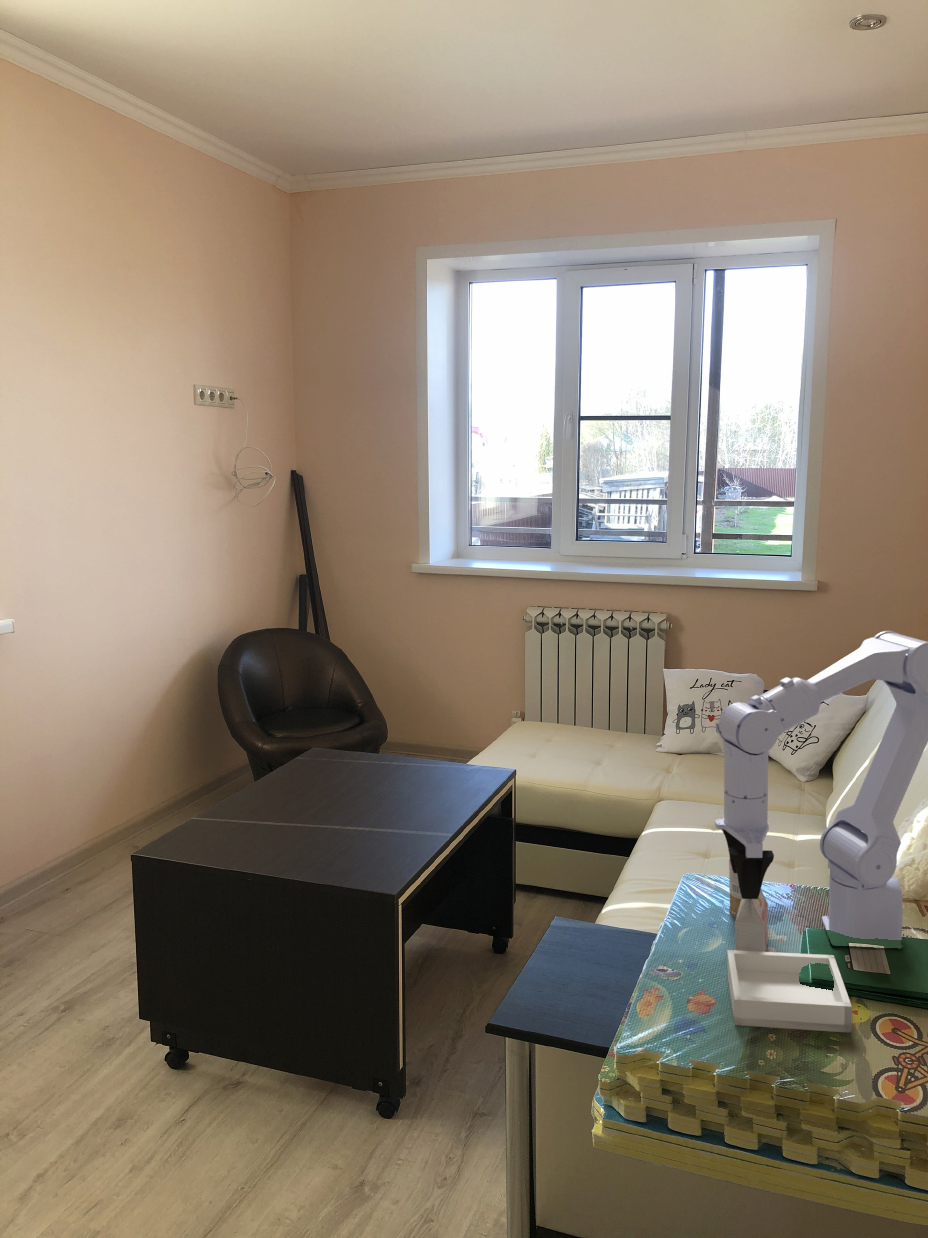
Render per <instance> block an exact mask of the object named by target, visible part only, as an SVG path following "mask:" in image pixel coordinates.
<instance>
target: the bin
mask: <svg viewBox="0 0 928 1238" xmlns="http://www.w3.org/2000/svg"><path fill="white" fill-rule="evenodd" d="M726 956H727V957H726V959H727V961H726V965H727V966H726V969H727V970H726V971H727V973H726V974H727V980H728V987H729V988H728V989H729V994H730V1001H731V1008H732V1015H733V1021H734V1022H733V1023H734V1026H740V1027H743V1026H744V1027H759V1028H771V1029H772V1028H774V1029H791V1030H803V1031H804V1030H805V1031H818V1032H819V1031H821V1032H835V1033H847V1034H848V1033H849V1034H852V1021H853V1020H852V1018H853V1017H852V1015H853V1013H852V1012H853V1006H852V1003H851V1000H850V997H849V995H848V992H847V989H846V986H845V983H844V981H843V977H842V975H841V972H840V969H839V967H838V964H837V961H836V958H835V955H832V954H819V953H818V954H817V953H816V954H814V953H813V954H812V953H797V952H796V953H794V952H792V953H791V952H776V951H774V952H773V951H766V952H758V951H738V950H735V949H727V951H726ZM810 963H811V964H815V963H821V964H822V963H823V964H828V965H829V968H830V971H831V974H832V976H833V980H834V988H833V991H832V990H828V989H827V990H826V989H821V988H815V987H809V986H806V985H802V984H800V982H799V973H800V972H801V969H802V967H804V966H807V965H808V964H810Z"/></svg>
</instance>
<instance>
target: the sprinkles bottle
mask: <svg viewBox="0 0 928 1238" xmlns="http://www.w3.org/2000/svg"><path fill="white" fill-rule="evenodd" d="M728 865H729V867H728V870H729V872H728V874H729V877H728V880H729V882H728V883H729V909H728V910H729V913H730V914H731V916H733V917H735V918H736V917H737V913H738V909H739V906H740V902H741V899H742V896H741V893H740V889H739V883H738V876H737V873H734V872H733V869H732V866H731V861H730V858H729V860H728Z"/></svg>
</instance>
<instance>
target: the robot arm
mask: <svg viewBox="0 0 928 1238" xmlns="http://www.w3.org/2000/svg"><path fill="white" fill-rule="evenodd" d="M871 680H877V681H883V683H884V684H885V685H886V686H887V687H888V689H889V691H890V693H891V695H892V697H893V699H894V701H895V704H896V706H895V707H894V710H893V712H892V715H891V717H890V719H889V722H888V723H887V726H886V728H885V731H884V733H883V735H882V738H881V740H880V743H879V745H878V747H877V749H876V750H875V751H876V752H875V754H874V756H873V758H872V761H871V763H870V766H869V768H868V771H867V773H866V775H865V777H864V780H863V782H862V784H861V786H860V789H859V791H858V794H857V796H856V798H855V800H854V803H853V804H852V805H850V806H847V807H845V808H842V809H840V810H838V811H837V813H836V815H835V818H834V819H833V821H832V822H831V823H830V824H829V825H828V826H827V827H826V828H825V829H824V830H823V832H822V834H821V836H820V839H819V850H820V852H821V854H822V856H823V857H824V858H825V859H826V860H827V868H828V869H829V892H828V893H829V895H828V897H829V898H828V906H829V907H828V915H823V916H821V920H822V924H823V927H824V929H826V930H831V931H834V932H837V933H840V934H843V935H845V936H849V937H853V938H860V939H875V938H878V939H888V940H902V937H903V935H902V933H903V909H904V908H903V905H904V904H903V893H902V887H901V884H900V881H899V879H898V878H897V877H895V876H894V874H895V872H896V869H897V862H898V859H897V855H898V851H899V849H900V846H901V843H902V842H901V839H900V836H899V834H898V831H897V829H896V827H895V824H894V820H895V818H896V815H897V814H898V811H899V808H900V806H901V805H902V802H903V800H904V797H905V795H906V792H907V790H908V788H909V786H910V783H911V781H912V780H913V777H914V774H915V772H916V770H917V768H918V765H919V763H920V761H921V758H922V756H923V753H924V752H925V749H926V746H927V745H928V641H927V640H922V639H919V638H915V637H912V636H907V635H904V634H901V633H899V632H896V631H894V630H893V631H892V630H884V631H880V632H879V633H877V634H875V635H874V636H873V637H869V638H866V639H864V640H863V641H862V643H861V644H860V646H859V647H858V648H857V649H855V650H854V651H853V652H851V653H849V654H848V655H846V656H844V657H843V658H841V659H840V660H838V661H836V662H834V663H833V664H831V665H830V666H828V667H827V668H825V669H823V670H821V671H820V672H818V673H817V674H815V675H814V676H812V677H810V678H809V679H807V680H806V679H803V678H800V677H792V678H790V677H788V676H787V677H784V678H782V679H780V680H779V684H780V685H777V686H775V687H773V688H772V689H769V690H768V691H766V692H764V693H762V694H760V695H757V694H755V695H753V696H750V699H749V701H748V702H747V703H746V702H740V701H738V702H734V703H731V704H730V705H728V706H727V707H726V708H724V710H723V711H722V713H721V715H720V717H719V719H718V722H715V730H716V732H717V734H718V736H719V737H720V738H721V740H722V741H723V750H724V751H723V756H724V757H723V764H724V765H723V767H724V768H723V778H724V779H723V788H724V789H723V818H717V819H715V821H714V825H715V828H716V829H717V830H721V831H722V833H723V835H724V837H725V841H726V844H727V848H728V850H727V851H728V854H729V859H730V861H731V866H732V869H733V872H734V873H737V876H738V883H739V889H740V893H741V896H742V899H758V897H759V894H760V890H761V891H762V885H763V882H764V878H765V876H766V873H767V871H768V868H769V867H770V866H771V864H772V863H773V861H774V859H775V854H774V852H773V850H769V849H768V850H765V849H763V848H764V847H763V846H764V844H763V842H764V840H765V839H766V837H767V834H768V832H769V830H770V823H769V820H768V817H769V816H768V814H769V813H768V811H769V809H768V807H769V806H768V805H769V804H768V803H769V799H768V798H769V796H768V795H769V792H768V791H769V790H768V789H769V752H770V750H771V749H772V748H773V747H774V746H775V744H776V742H777V741H778V738H779V737H780V736H781V735H783V733H784V732H786V731H789V730H790V729H792V728H794V727H796V726H797V725H800V724H801V723H804V722H805V721H807V720H808V719H811V718H813V717H814V716H817V714H818V713H819V711H820V707H821V704H822V702H824V701H827V700H829V699H831V698H833V697H835V696H838V695H840V694H842V693H844V692H846V691H849V690H851V689H853V688H855V687H858V686H860V685H862V684H864V683H866V682H868V681H871ZM826 930H825V931H826ZM902 941H903V940H902Z"/></svg>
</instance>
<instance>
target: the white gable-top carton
mask: <svg viewBox="0 0 928 1238" xmlns="http://www.w3.org/2000/svg"><path fill="white" fill-rule="evenodd" d="M768 905H769V903H768V901H767V899H766V897H765V895H764V893H763V891H762V889H761V890H760V894H759V897H758V899H741V902H740V906H739V909H738V913H737V917H735V921H734V930H735V931H734V950H738V951H758V952H767V947H768V942H769V941H768V935H769V934H768V932H769V930H768V928H769V927H768V925H769V918H768V917H769V914H768V913H769V911H768V910H769V909H768V908H769V907H768Z"/></svg>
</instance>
